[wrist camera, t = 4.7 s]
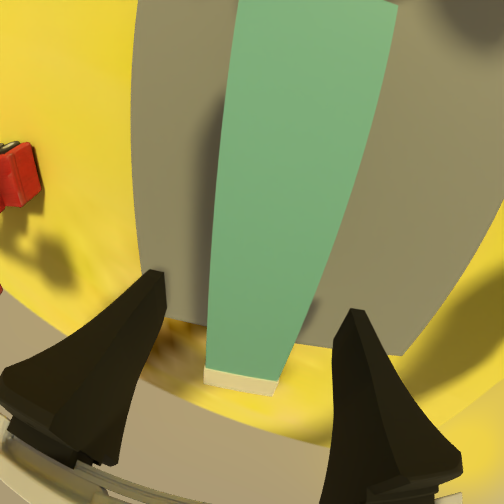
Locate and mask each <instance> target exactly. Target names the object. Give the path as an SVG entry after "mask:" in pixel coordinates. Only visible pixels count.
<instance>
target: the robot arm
mask: <svg viewBox="0 0 504 504" xmlns="http://www.w3.org/2000/svg"><path fill="white" fill-rule="evenodd" d="M166 310H167V299H166V288H165V276H164V272H161V271H156V270H152V269H149V270H148V271H146V272H145V273H144V274H143V275H142V276H141V277H140V278H139V279H138V280H137V281H136V282H135V283H134V284H133V285H132V286H130V287H129V288H128V289H127V290H126V291H125V292H124V293H123V294H122V295H121V296H119V297H118V298H117V299H116V300H115V301H114V302H113V303H112V304H110V305H109V306H108V307H107V308H106V309H104V310H103V311H102V312H101V313H100V314H98V315H97V316H96V317H95V318H94V319H92V320H91V321H90V322H88V323H87V324H86V325H84V326H83V327H82V328H80V329H79V330H77V331H76V332H74V333H73V334H71V335H70V336H68V337H67V338H65V339H64V340H62V341H60V342H59V343H57V344H56V345H54V346H52V347H50V348H48V349H46V350H44V351H43V352H41V353H39V354H37V355H35V356H33V357H31V358H29V359H26V360H24V361H21V362H19V363H16V364H14V365H11V366H9V367H6V368H5V369H4V371H3V372H2V374H1V376H0V405H1V406H3V407H4V408H5V409H6V410H7V411H8V412H10V413H11V414H12V415H13V417H12V419H11V420H9V419H8V418H7V417H5V416H4V415H3V414H1V413H0V480H2V481H3V482H4V483H5V484H6V485H7V486H8V487H10V488H11V489H12V490H13V491H14V492H16V493H17V494H18V495H19V496H21V497H22V498H23V499H24V500H26V501H27V502H28V503H30V504H131V503H128V502H125V501H122V500H119V499H117V498H114V497H111V496H109V495H108V492H107V490H106V489H108V490H110V491H113V492H116V493H118V494H121V495H123V496H126V497H129V498H132V499H134V500H138V501H140V502H143V503H146V504H210V503H204V502H200V501H195V500H191V499H186V498H182V497H178V496H175V495H171V494H167V493H164V492H160V491H157V490H154V489H150V488H147V487H144V486H141V485H138V484H135V483H132V482H129V481H127V480H124V479H121V478H119V477H116V476H113V475H111V474H108V473H106V472H103V471H101V470H99V469H96V468H94V467H92V464H93V463H94V464H96V465H99V466H101V464H105V465H107V466H114V465H116V464H118V460H119V453H120V447H121V442H122V437H123V432H124V427H125V424H126V419H127V415H128V412H129V408H130V404H131V400H132V397H133V394H134V390H135V387H136V384H137V381H138V379H139V376H140V373H141V371H142V369H143V367H144V364H145V362H146V360H147V358H148V356H149V353H150V351H151V349H152V347H153V345H154V342H155V340H156V338H157V336H158V333H159V331H160V329H161V326H162V323H163V320H164V316H165V313H166ZM332 381H333V405H334V420H333V431H332V440H331V448H330V455H329V461H328V467H327V472H326V477H325V482H324V486H323V490H322V494H321V498H320V501H319V504H462V493H461V492H459V493H455V494H452V495H448V496H444V497H441V498H437V499H434V494H436V493H438V491H439V488H438V485H440V484H443V483H445V482H448V481H450V480H453V479H455V478H457V477H459V476H461V474H462V473H463V466H462V457H461V452H460V451H459V450H458V449H457V448H456V447H455V446H454V445H452V444H451V443H450V442H449V441H448V440H447V439H446V438H445V437H444V436H443V435H442V434H441V433H440V431H439V430H438V429H437V428H436V427H435V426H434V425H433V424H432V422H431V421H430V420H429V419H428V418H427V416H426V415H425V414H424V412H423V411H422V410H421V409H420V407H419V406H418V405H417V403H416V402H415V401H414V399H413V398H412V396H411V395H410V393H409V392H408V390H407V389H406V387H405V386H404V384H403V382H402V381H401V379H400V377H399V376H398V374H397V372H396V370H395V369H394V367H393V365H392V363H391V361H390V359H389V358H388V356H387V354H386V352H385V350H384V348H383V346H382V344H381V342H380V340H379V338H378V336H377V334H376V332H375V330H374V328H373V326H372V324H371V322H370V320H369V318H368V316H367V314H366V312H365V310H361V309H354V308H350V309H349V311H348V313H347V315H346V317H345V319H344V321H343V322H342V324H341V326H340V328H339V330H338V331H337V333H336V335H335V337H334V339H333V348H332Z"/></svg>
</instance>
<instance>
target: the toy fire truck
mask: <svg viewBox="0 0 504 504" xmlns="http://www.w3.org/2000/svg"><path fill="white" fill-rule="evenodd" d="M40 191H41V185H40V182H39V178H38V174H37V169H36V166H35V162H34V157H33V153H32V147H31V144H30V143H29V142H26V143H21V144H19V142H18V141H14V142H10V143H8V144H6V145H4V144H3V143H0V213H1V212H2V211H3V210H4V209H5V206H14V207H20V208H21V207H23V206H24V205H25V204H26V203H27V202H28V201H30V200H31V199H32V198H33V197H34V196H36V195H37V194H38V193H39V192H40ZM2 291H3V288H2V286H1V284H0V294H1V293H2Z"/></svg>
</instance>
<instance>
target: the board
mask: <svg viewBox="0 0 504 504" xmlns="http://www.w3.org/2000/svg"><path fill="white" fill-rule="evenodd" d="M384 1H387V2H390V3H393V4H396V5H398V11H397V16H396V22H395V27H394V32H393V37H392V42H391V47H390V52H389V56H388V61H387V65H386V70H385V74H384V78H383V82H382V86H381V90H380V94H379V98H378V102H377V106H376V110H375V114H374V118H373V121H372V125H371V129H370V132H369V136H368V139H367V143H366V146H365V150H364V153H363V156H362V160H361V163H360V166H359V170H358V173H357V176H356V179H355V182H354V186H353V189H352V192H351V195H350V198H349V201H348V204H347V207H346V210H345V213H344V216H343V219H342V222H341V225H340V227H339V230H338V233H337V236H336V239H335V242H334V244H333V247H332V250H331V253H330V255H329V258H328V261H327V263H326V266H325V269H324V271H323V274H322V277H321V279H320V282H319V284H318V287H317V290H316V292H315V295H314V297H313V300H312V302H311V305H310V307H309V310H308V312H307V315H306V317H305V319H304V322H303V324H302V327H301V329H300V331H299V334H298V336H297V338H296V341H295V343H298V344H304V345H311V346H318V347H325V348H333V339H334V337H335V335H336V333H337V331H338V330H339V328H340V326H341V324H342V322H343V321H344V319H345V317H346V315H347V313H348V311H349V309H350V308H354V309H361V310H365V312H366V314H367V316H368V318H369V320H370V322H371V324H372V326H373V328H374V330H375V332H376V334H377V336H378V338H379V340H380V342H381V344H382V346H383V348H384V350H385V352H386V354H387V355H396V356H402V355H403V354H404V353H405V352H406V351H407V349H408V348H409V347H410V346H411V344H412V343H413V342H414V341H415V340H416V338H417V337H418V336H419V335H420V333H421V332H422V331H423V329H424V328H425V327H426V326H427V324H428V323H429V322H430V320H431V319H432V318H433V316H434V315H435V314H436V312H437V311H438V309H439V308H440V307H441V305H442V304H443V302H444V301H445V300H446V298H447V297H448V295H449V294H450V292H451V291H452V289H453V288H454V286H455V285H456V283H457V282H458V280H459V279H460V277H461V276H462V274H463V272H464V271H465V269H466V268H467V266H468V264H469V263H470V261H471V259H472V258H473V256H474V254H475V253H476V251H477V249H478V247H479V246H480V244H481V242H482V240H483V239H484V237H485V235H486V233H487V231H488V229H489V227H490V226H491V224H492V222H493V220H494V218H495V216H496V214H497V212H498V210H499V208H500V206H501V203H502V201H503V199H504V0H384ZM238 2H239V0H138V6H137V14H136V23H135V33H134V45H133V60H132V80H131V158H132V179H133V194H134V207H135V219H136V229H137V238H138V247H139V255H140V263H141V271H142V275H143V274H144V273H145V272H146V271H148V270H149V269H152V270H156V271H161V272H164V276H165V288H166V299H167V310H166V313H165V316H164V317H168V318H172V319H177V320H181V321H185V322H189V323H194V324H198V325H203V326H207V317H208V296H209V278H210V261H211V246H212V232H213V218H214V206H215V193H216V182H217V171H218V160H219V150H220V140H221V131H222V122H223V113H224V104H225V95H226V87H227V79H228V71H229V64H230V56H231V49H232V42H233V35H234V28H235V21H236V15H237V8H238Z"/></svg>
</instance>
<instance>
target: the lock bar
mask: <svg viewBox="0 0 504 504" xmlns="http://www.w3.org/2000/svg"><path fill="white" fill-rule="evenodd" d="M397 11H398V5H396V4H393V3H390V2H387V1H384V0H239V2H238V8H237V15H236V21H235V28H234V35H233V42H232V49H231V56H230V64H229V71H228V79H227V87H226V95H225V104H224V113H223V122H222V131H221V140H220V150H219V160H218V171H217V182H216V193H215V206H214V218H213V232H212V246H211V261H210V278H209V296H208V317H207V341H206V363H205V367H204V384H207V385H212V386H216V387H221V388H226V389H231V390H236V391H241V392H247V393H253V394H259V395H265V396H271V397H272V396H273V394H274V392H275V389H276V387H277V385H278V383H279V377H280V375H281V372H282V370H283V368H284V366H285V364H286V361H287V359H288V357H289V355H290V352H291V350H292V348H293V345H294V343H295V341H296V338H297V336H298V334H299V331H300V329H301V327H302V324H303V322H304V319H305V317H306V315H307V312H308V310H309V307H310V305H311V302H312V300H313V297H314V295H315V292H316V290H317V287H318V284H319V282H320V279H321V277H322V274H323V271H324V269H325V266H326V263H327V261H328V258H329V255H330V253H331V250H332V247H333V244H334V242H335V239H336V236H337V233H338V230H339V227H340V225H341V222H342V219H343V216H344V213H345V210H346V207H347V204H348V201H349V198H350V195H351V192H352V189H353V186H354V182H355V179H356V176H357V173H358V170H359V166H360V163H361V160H362V156H363V153H364V150H365V146H366V143H367V139H368V136H369V132H370V129H371V125H372V121H373V118H374V114H375V110H376V106H377V102H378V98H379V94H380V90H381V86H382V82H383V78H384V74H385V70H386V65H387V61H388V56H389V52H390V47H391V42H392V37H393V32H394V27H395V22H396V16H397Z"/></svg>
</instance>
